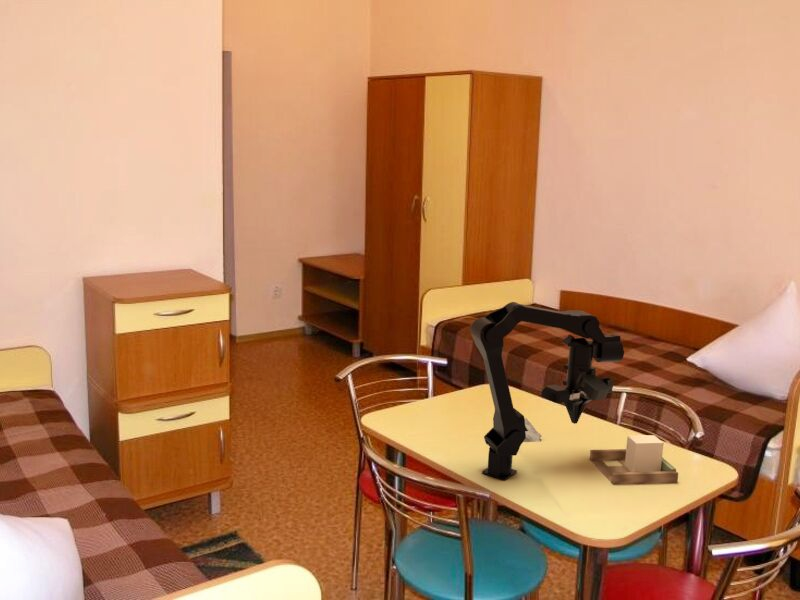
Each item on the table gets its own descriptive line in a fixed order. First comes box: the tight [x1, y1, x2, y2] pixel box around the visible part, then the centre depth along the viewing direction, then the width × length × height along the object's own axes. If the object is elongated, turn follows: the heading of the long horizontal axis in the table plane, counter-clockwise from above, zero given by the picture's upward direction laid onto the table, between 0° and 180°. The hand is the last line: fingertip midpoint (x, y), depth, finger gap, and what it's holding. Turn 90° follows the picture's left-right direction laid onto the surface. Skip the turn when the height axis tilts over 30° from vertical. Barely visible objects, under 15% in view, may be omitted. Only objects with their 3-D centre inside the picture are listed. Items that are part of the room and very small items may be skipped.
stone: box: [523, 417, 542, 443], centre depth 216 cm, size 6×12×4 cm, turn 164°
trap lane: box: [589, 448, 679, 486], centre depth 192 cm, size 16×15×4 cm
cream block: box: [625, 434, 664, 472], centre depth 192 cm, size 7×5×8 cm
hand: (574, 423), depth 194 cm, fingers closed
